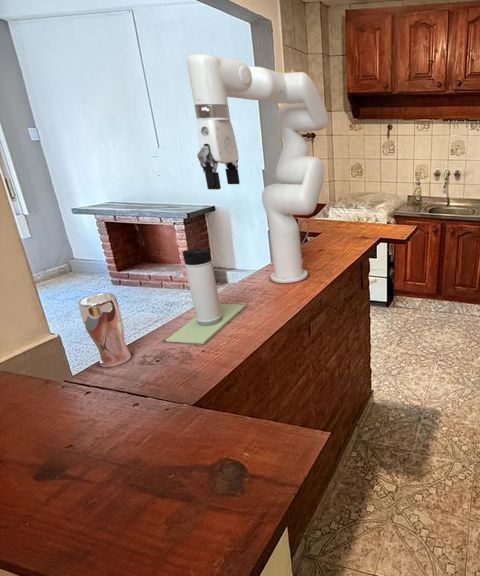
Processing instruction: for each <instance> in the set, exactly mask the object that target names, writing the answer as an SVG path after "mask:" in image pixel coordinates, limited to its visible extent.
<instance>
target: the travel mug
mask: <svg viewBox="0 0 480 576" xmlns="http://www.w3.org/2000/svg"><path fill="white" fill-rule="evenodd" d="M210 251H211V250H210V249H200V248H193V249H186V250H183V251H182V256H183V260H184V268H185V272H186V276H187V280H188V287H189V291H190V295H191V300H192V304H193V309H194V310H193V311H194V314H195V317H196V319H197V323H198V324H199V325H202V326H208V325H213V324H216V323H218V322H220V321H221V320H222V314H221V308H220V304H221V303H220V299H219V293H218V287H217V282H216V276H215V271H214V266H213V265H214V264H213V261H212V257H211V252H210Z"/></svg>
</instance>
